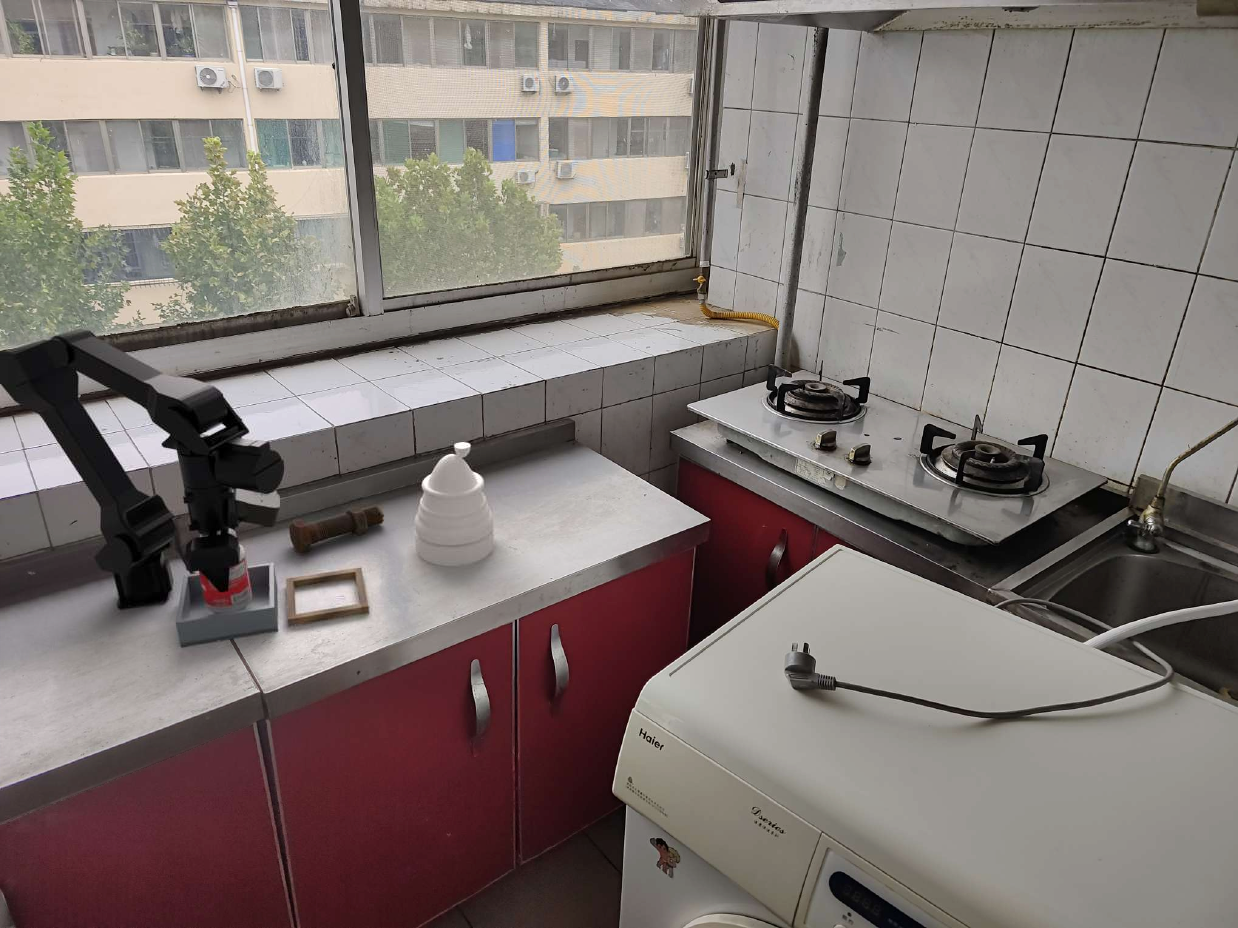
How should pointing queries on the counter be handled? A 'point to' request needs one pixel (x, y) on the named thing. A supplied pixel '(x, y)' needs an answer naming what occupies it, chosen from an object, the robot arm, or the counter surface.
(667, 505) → the counter surface
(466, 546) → the honey pot
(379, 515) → the bolt
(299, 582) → the wooden frame
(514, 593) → the counter surface
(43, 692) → the counter surface
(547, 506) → the counter surface
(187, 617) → the bin
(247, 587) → the pill bottle
